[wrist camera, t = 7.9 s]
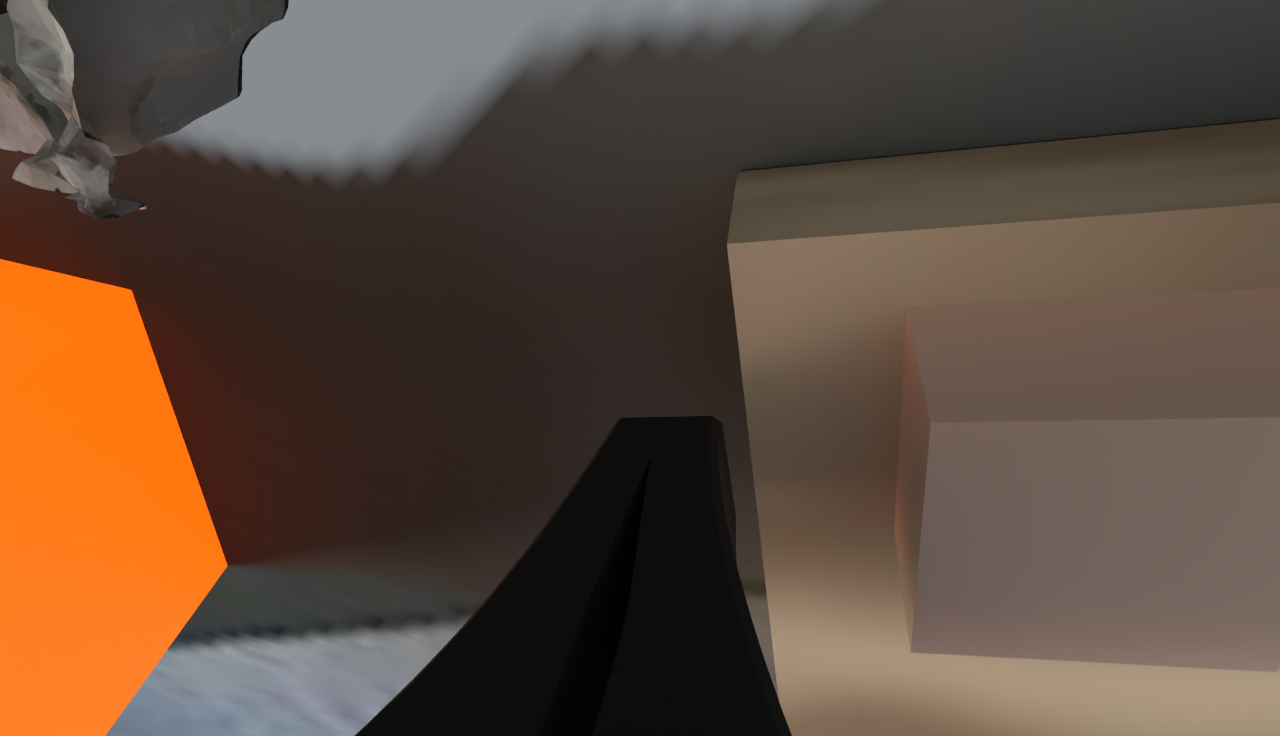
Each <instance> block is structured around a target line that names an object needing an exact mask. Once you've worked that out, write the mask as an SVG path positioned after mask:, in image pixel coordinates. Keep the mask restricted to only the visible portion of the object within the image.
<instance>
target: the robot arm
mask: <svg viewBox="0 0 1280 736" xmlns="http://www.w3.org/2000/svg"><path fill="white" fill-rule="evenodd" d="M355 736H792V735H791V732H790V729H789V727H788V724H787V721H786V719H785V716H784V713H783V711H782V708H781V705H780V703H779V700H778V697H777V694H776V691H775V688H774V686H773V683H772V680H771V677H770V674H769V671H768V669H767V666H766V663H765V660H764V657H763V654H762V651H761V648H760V645H759V641H758V638H757V635H756V632H755V629H754V625H753V622H752V619H751V615H750V612H749V608H748V605H747V602H746V598H745V595H744V591H743V588H742V584H741V580H740V577H739V573H738V569H737V561H736V515H735V508H734V501H733V494H732V488H731V481H730V474H729V467H728V460H727V454H726V447H725V440H724V433H723V426H722V422H720V421H719V420H717V419H716V418H715V417H713V416H688V417H642V418H621V419H620V420H619V421H618V422H617V423H616V424H615V425H614V426H613V428H612V429H611V431H610V433H609V434H608V436H607V437H606V439H605V440H604V442H603V443H602V445H601V446H600V448H599V449H598V451H597V452H596V454H595V455H594V457H593V458H592V460H591V461H590V463H589V464H588V466H587V467H586V469H585V470H584V472H583V473H582V474H581V476H580V477H579V479H578V480H577V482H576V483H575V485H574V486H573V487H572V489H571V490H570V492H569V493H568V495H567V496H566V497H565V499H564V500H563V502H562V503H561V504H560V506H559V507H558V508H557V510H556V511H555V512H554V514H553V515H552V516H551V518H550V519H549V521H548V522H547V523H546V525H545V526H544V527H543V529H542V530H541V531H540V533H539V534H538V535H537V537H536V538H535V539H534V541H533V542H532V543H531V545H530V546H529V547H528V549H527V550H526V551H525V553H524V554H523V555H522V556H521V558H520V559H519V560H518V561H517V562H516V564H515V565H514V566H513V567H512V569H511V570H510V571H509V572H508V573H507V575H506V576H505V577H504V578H503V580H502V581H501V582H500V583H499V584H498V586H497V587H496V588H495V589H494V591H493V592H492V593H491V594H490V595H489V597H488V598H487V599H486V600H485V602H484V603H483V604H482V605H481V606H480V607H479V609H478V610H477V611H476V612H475V613H474V614H473V615H472V617H471V618H470V619H469V620H468V621H467V622H466V623H465V624H464V626H463V627H462V628H461V629H460V630H459V631H458V632H457V633H456V634H455V636H454V637H453V638H452V639H451V640H450V641H449V642H448V643H447V644H446V645H445V646H444V648H443V649H442V650H441V651H440V652H439V653H438V654H437V655H436V656H435V657H434V658H433V659H432V660H431V661H430V662H429V663H428V664H427V665H426V666H425V668H424V669H423V670H422V671H421V672H420V673H419V674H418V675H417V676H416V677H415V678H414V679H413V680H412V681H411V682H410V683H409V684H408V685H407V686H406V687H405V688H404V689H403V690H402V691H401V692H400V693H399V694H398V695H397V696H395V697H394V698H393V699H392V700H391V701H390V702H389V703H388V704H387V705H386V706H385V707H384V708H383V709H382V710H381V711H380V712H379V713H378V714H377V715H376V716H375V717H374V718H373V719H372V720H371V721H370V722H369V723H368V724H367V725H366V726H365V727H364V728H363V729H361V730H360V731H359V732H358V733H357V734H356V735H355Z"/></svg>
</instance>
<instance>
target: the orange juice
mask: <svg viewBox="0 0 1280 736" xmlns="http://www.w3.org/2000/svg"><path fill="white" fill-rule="evenodd" d="M226 567H227V563H226V560H225V557H224V554H223V551H222V548H221V546H220V543H219V540H218V537H217V534H216V531H215V528H214V526H213V523H212V520H211V517H210V514H209V511H208V508H207V505H206V503H205V500H204V497H203V494H202V491H201V488H200V485H199V483H198V480H197V477H196V474H195V471H194V468H193V465H192V462H191V460H190V457H189V454H188V451H187V448H186V445H185V442H184V440H183V437H182V434H181V431H180V428H179V425H178V422H177V419H176V417H175V414H174V411H173V408H172V405H171V402H170V399H169V396H168V394H167V391H166V388H165V385H164V382H163V379H162V376H161V374H160V371H159V368H158V365H157V362H156V359H155V356H154V353H153V351H152V348H151V345H150V342H149V339H148V336H147V333H146V331H145V328H144V325H143V322H142V319H141V316H140V313H139V310H138V308H137V305H136V302H135V299H134V296H133V293H132V290H129V289H125V288H121V287H117V286H112V285H108V284H104V283H100V282H95V281H91V280H87V279H83V278H78V277H74V276H70V275H66V274H61V273H57V272H53V271H49V270H44V269H40V268H36V267H32V266H27V265H23V264H19V263H15V262H10V261H6V260H2V259H0V736H105V735H106V734H107V732H108V731H109V729H110V728H111V727H112V725H113V724H114V723H115V721H116V720H117V718H118V717H119V716H120V714H121V713H122V711H123V710H124V709H125V707H126V706H127V705H128V703H129V702H130V700H131V699H132V698H133V696H134V695H135V693H136V692H137V691H138V689H139V688H140V686H141V685H142V684H143V682H144V681H145V680H146V678H147V677H148V675H149V674H150V673H151V671H152V670H153V668H154V667H155V666H156V664H157V663H158V661H159V660H160V659H161V657H162V656H163V655H164V653H165V652H166V650H167V649H168V648H169V646H170V645H171V643H172V642H173V641H174V639H175V638H176V637H177V635H178V634H179V632H180V631H181V630H182V628H183V627H184V625H185V624H186V623H187V621H188V620H189V618H190V617H191V616H192V614H193V613H194V612H195V610H196V609H197V607H198V606H199V605H200V603H201V602H202V600H203V599H204V598H205V596H206V595H207V593H208V592H209V591H210V589H211V588H212V587H213V585H214V584H215V582H216V581H217V580H218V578H219V577H220V575H221V574H222V573H223V571H224V570H225V569H226Z"/></svg>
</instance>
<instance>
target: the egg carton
mask: <svg viewBox="0 0 1280 736" xmlns="http://www.w3.org/2000/svg"><path fill="white" fill-rule="evenodd" d="M288 4H289V0H0V149H5V150H11V151H17V152H24V153H30V154H36V155H35V156H32V157H29V158H27V159H26V160H24V161H22V162H21V163H20V164H19V165H18V167H17V168H16V169H15V170H14V172H13V176H12V179H14V180H17V181H19V182H22V183H24V184H27V185H29V186H32V187H34V188H40V189H45V190H50V191H57V192H64V193H71V194H72V195H70V196H68V197H66V198H68V199H71V200H72V201H74V202H77V204H78V210H79V211H81V212H83V213H85V214H87V215H89V216H91V217H93V218H95V219H97V220H99V219H105V218H113V217H121V216H123V215H125V214H128V213H130V212H132V211H135V210H137V209H140V210H142V209H146V207H147V205H145V204H143V203H142V202H140V201H138V200H136V199H134V198H133V197H131V196H129V195H127V194H124V193H122V192H120V191H118V190H117V189H116V188H115V187H114V186H113V185H112V183H113V180H114V176H115V173H116V170H117V166H118V162H117V161H116V159H115V158H114V157H113V156H125V155H129V154H132V153H135V152H137V151H139V150H140V149H142V148H143V147H144V146H146V145H147V144H149V143H150V142H152V141H153V140H155V139H156V138H159V137H162V136H165V135H168V134H171V133H175V132H177V131H179V130H180V129H182V128H183V127H185V126H186V125H188V124H189V123H191V122H192V121H194V120H195V119H197V118H199V117H201V116H203V115H205V114H207V113H209V112H211V111H213V110H215V109H217V108H219V107H221V106H223V105H225V104H226V103H228V102H230V101H232V100H234V99H236V98H238V97H239V96H240V94H241V92H242V59H243V58H242V57H243V54H244V52H245V50H246V48H247V47H248V45H249V43H250V41H251V40H252V39H253V38H254V37H255V36H256V35H257V34H258V33H259V32H260V31H261V30H262V29H264V28H265V27H267V26H268V25H269V24H271V23H273V22H275V21H279V20H282V19H284V16H285V14H286V11H287V9H288Z"/></svg>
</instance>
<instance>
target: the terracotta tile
mask: <svg viewBox="0 0 1280 736" xmlns="http://www.w3.org/2000/svg"><path fill="white" fill-rule="evenodd" d="M894 531H895V539H896V546H897V554H898V562H899V569H900V577H901V585H902V592H903V600H904V607H905V615H906V623H907V630H908V638H909V645H910V653H926V654H945V655H964V656H982V657H1001V658H1020V659H1039V660H1057V661H1076V662H1095V663H1114V664H1132V665H1151V666H1170V667H1189V668H1207V669H1226V670H1245V671H1264V672H1276V671H1277V670H1278V668H1279V667H1280V288H1264V289H1245V290H1225V291H1206V292H1187V293H1167V294H1148V295H1128V296H1109V297H1089V298H1070V299H1050V300H1031V301H1011V302H992V303H972V304H953V305H933V306H914V307H906V325H905V343H904V361H903V380H902V398H901V416H900V435H899V453H898V471H897V490H896V508H895V526H894Z"/></svg>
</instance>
